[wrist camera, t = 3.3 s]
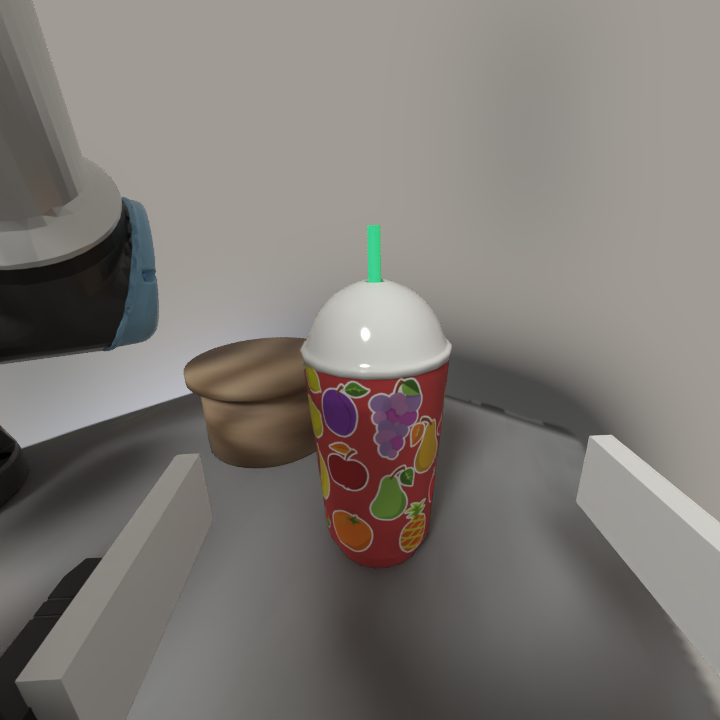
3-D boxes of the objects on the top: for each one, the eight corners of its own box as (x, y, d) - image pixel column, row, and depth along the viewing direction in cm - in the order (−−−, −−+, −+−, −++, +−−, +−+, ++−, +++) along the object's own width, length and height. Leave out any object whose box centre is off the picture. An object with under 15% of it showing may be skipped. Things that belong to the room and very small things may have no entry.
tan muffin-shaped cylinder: (165, 460, 35) (146, 380, 32) (251, 395, 48) (242, 333, 45) (304, 487, 31) (296, 398, 28) (358, 409, 44) (356, 342, 41)
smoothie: (408, 483, 31) (412, 222, 24) (465, 565, 24) (496, 223, 17) (306, 508, 29) (279, 227, 22) (335, 608, 21) (307, 230, 14)
